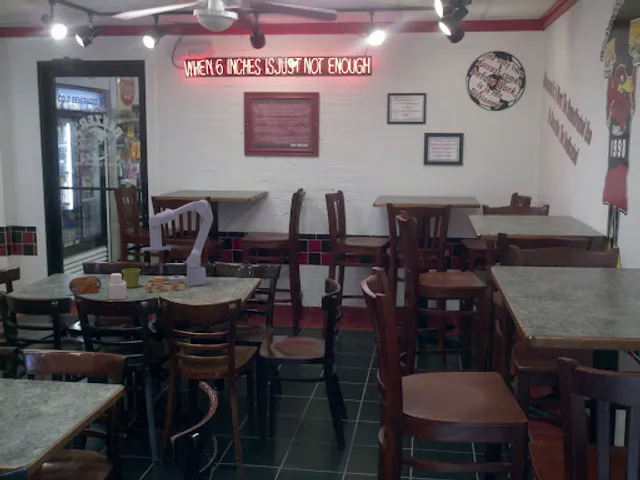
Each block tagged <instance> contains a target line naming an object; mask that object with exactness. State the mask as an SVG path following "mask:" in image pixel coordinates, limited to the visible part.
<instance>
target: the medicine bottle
mask: <svg viewBox="0 0 640 480" xmlns="http://www.w3.org/2000/svg"><path fill="white" fill-rule="evenodd" d="M109 275H110V276H109V279H110V283H109V284H108V285H107V289H108V290H107V291H108V300H109V299H112V300H124V299H126V298H127V296H128V293H127V291H128V290H127V289H128V288H127V287H126V282H125V280H124V275H123V272H112V273H111V274H109Z"/></svg>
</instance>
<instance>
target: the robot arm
mask: <svg viewBox="0 0 640 480" xmlns="http://www.w3.org/2000/svg"><path fill="white" fill-rule="evenodd" d="M188 211H189V212H197V213H198V214H199V215H200V216H201V219H202V223H201V225H200V229H199V231H198V233H197V236H196V239H195V242H194V245H193V248H192V250H191V253H190V255H189V256H188V257H187V258H186V260H185V261H186V265H187V266H186V283H185V285H186V286H188V287H189V286H190V287H191V286H202V285H203V286H204V285H205V286H206V285H207V273H206V266H202V265H201V264H200V263H201V261H202V258H201V257H202V251H203V248H204V247H205V246H204V245H205V244H206V243H205V242H206V241H207V238H208V235H209V232H210V230H211V227H212V224H213V220H214V216H213V211H212V206H211V205H210V203H209V202H208V200H206V199H200V200H195V201H192V202H189V203H186V204H185V205H182V206H180V207H178V208H176V209H174V210H173V209H168V208H166V209H164V211H162V212H160V213H159V212H157V213H156V215H155V214H154V215H152V216H151V217H150V218H149V219H148V225H149V239H150V240H149V242H150V246H148V247H141V252H142V253H143V254H144V256H145V258H146V260H147V264H148V266H149V267H150V266H151V257H150V255H151V254H150V252H162V255H163V261H162V263H163V265H164V266H165V265H166V262H167V258H168V256H169V253H170V251H172V249H171V247H172V246H170V245H169V246H167V245H166V246H164V245H163V244H162V243H163V241H162V225H164V224H167V223H169V222H171V221H173V220H175V218H176V216H179V215H181V214H184V213H186V212H188Z"/></svg>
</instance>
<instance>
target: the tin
mask: <svg viewBox="0 0 640 480" xmlns="http://www.w3.org/2000/svg"><path fill="white" fill-rule="evenodd" d="M101 287H102V282H101V279H100V278H99V277H97V276H94V275H89V276H81V277H80V276H78V277H75V278H73V279H71V280H70V282H69V284H68V289H69V292H71V293H72V294H73V295H75V296H80V295H87V294H94V293H97V292H99V290H100V289H101Z"/></svg>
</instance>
